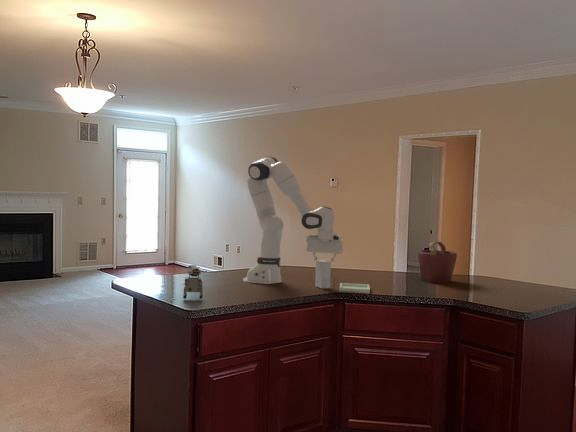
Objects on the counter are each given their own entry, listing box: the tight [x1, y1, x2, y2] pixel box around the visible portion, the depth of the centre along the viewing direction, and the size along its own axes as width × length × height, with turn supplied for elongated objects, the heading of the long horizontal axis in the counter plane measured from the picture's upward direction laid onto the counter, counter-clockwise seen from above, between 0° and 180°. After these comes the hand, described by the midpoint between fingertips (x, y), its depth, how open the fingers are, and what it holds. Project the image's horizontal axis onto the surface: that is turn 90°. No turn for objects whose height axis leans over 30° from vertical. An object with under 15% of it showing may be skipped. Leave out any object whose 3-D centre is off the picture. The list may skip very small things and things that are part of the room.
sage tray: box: [338, 282, 371, 295], centre depth 288 cm, size 16×16×2 cm
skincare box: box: [314, 259, 332, 289], centre depth 293 cm, size 8×6×15 cm
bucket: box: [417, 240, 458, 285], centre depth 327 cm, size 24×22×25 cm
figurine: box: [182, 264, 204, 299], centre depth 254 cm, size 9×12×15 cm
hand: (324, 260), depth 293 cm, fingers open, 8 cm apart
